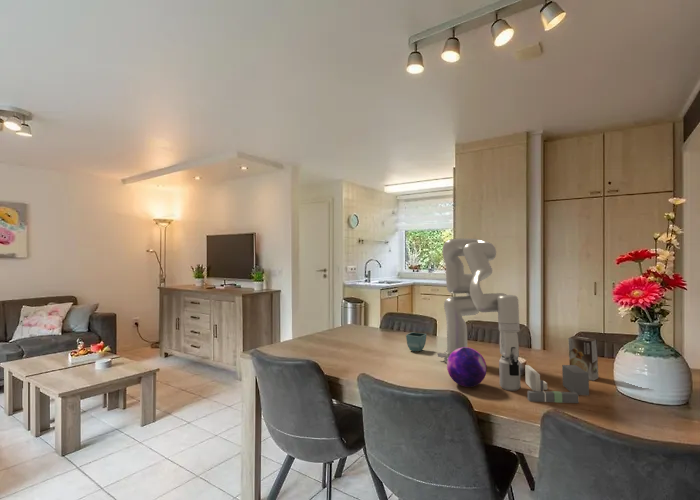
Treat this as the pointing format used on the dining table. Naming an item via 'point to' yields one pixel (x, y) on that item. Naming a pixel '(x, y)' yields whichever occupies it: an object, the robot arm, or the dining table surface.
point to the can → (508, 375)
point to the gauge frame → (572, 380)
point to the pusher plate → (534, 379)
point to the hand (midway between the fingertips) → (510, 371)
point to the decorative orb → (466, 367)
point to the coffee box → (584, 355)
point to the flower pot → (416, 341)
